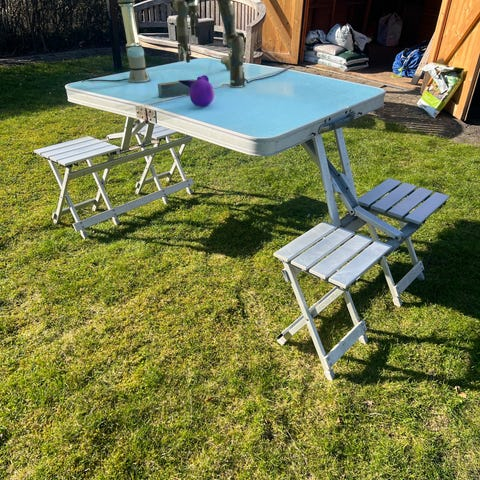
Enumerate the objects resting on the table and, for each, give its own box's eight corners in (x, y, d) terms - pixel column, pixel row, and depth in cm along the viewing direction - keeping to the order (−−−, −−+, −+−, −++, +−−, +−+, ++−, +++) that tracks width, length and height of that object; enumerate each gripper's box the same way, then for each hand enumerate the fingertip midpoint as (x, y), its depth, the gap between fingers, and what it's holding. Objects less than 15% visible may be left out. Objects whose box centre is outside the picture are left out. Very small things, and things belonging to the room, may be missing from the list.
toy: (202, 97, 286) (214, 113, 266) (175, 93, 279) (186, 108, 258) (208, 72, 278) (220, 86, 258) (180, 67, 271) (191, 81, 250)
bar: (162, 98, 290) (160, 85, 286) (158, 96, 294) (157, 83, 290) (197, 92, 302) (196, 80, 298) (194, 91, 306) (193, 79, 302)
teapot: (224, 71, 365) (223, 52, 358) (217, 69, 374) (217, 50, 366) (247, 69, 374) (246, 49, 367) (240, 67, 383) (239, 48, 375)
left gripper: (202, 6, 327) (203, 37, 338) (194, 4, 348) (196, 34, 358) (192, 6, 325) (194, 38, 336) (184, 4, 346) (186, 34, 356)
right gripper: (193, 34, 279) (195, 62, 287) (183, 32, 290) (185, 59, 298) (182, 35, 276) (184, 63, 284) (172, 34, 286) (175, 60, 295)
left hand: (195, 36), depth 347 cm, fingers open, 13 cm apart
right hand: (185, 61), depth 291 cm, fingers open, 8 cm apart
